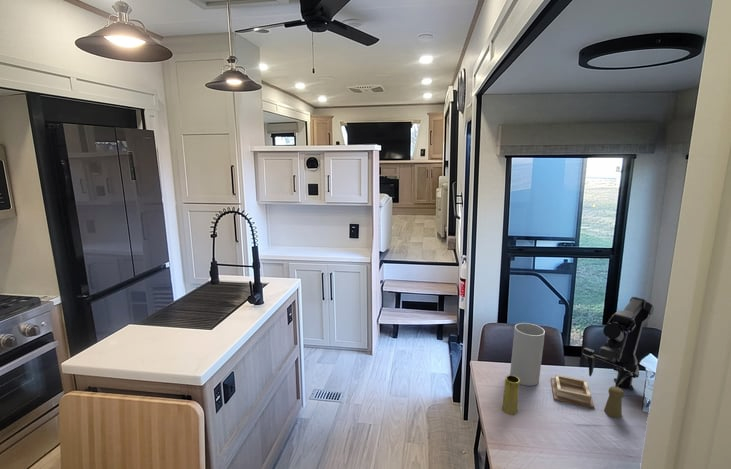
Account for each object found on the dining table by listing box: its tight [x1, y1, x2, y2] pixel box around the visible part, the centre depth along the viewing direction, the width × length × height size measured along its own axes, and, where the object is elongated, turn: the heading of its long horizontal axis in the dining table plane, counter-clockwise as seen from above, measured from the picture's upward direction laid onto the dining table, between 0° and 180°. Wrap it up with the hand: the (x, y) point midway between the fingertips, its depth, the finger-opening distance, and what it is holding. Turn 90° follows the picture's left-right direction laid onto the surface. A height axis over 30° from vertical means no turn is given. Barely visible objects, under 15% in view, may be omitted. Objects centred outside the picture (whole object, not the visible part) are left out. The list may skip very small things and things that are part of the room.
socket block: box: [550, 373, 595, 410], centre depth 164 cm, size 16×15×4 cm
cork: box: [603, 386, 625, 419], centre depth 151 cm, size 6×6×11 cm
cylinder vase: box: [509, 322, 546, 387], centre depth 172 cm, size 12×12×25 cm
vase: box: [501, 374, 520, 416], centre depth 152 cm, size 6×6×14 cm
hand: (602, 381), depth 148 cm, fingers open, 9 cm apart
